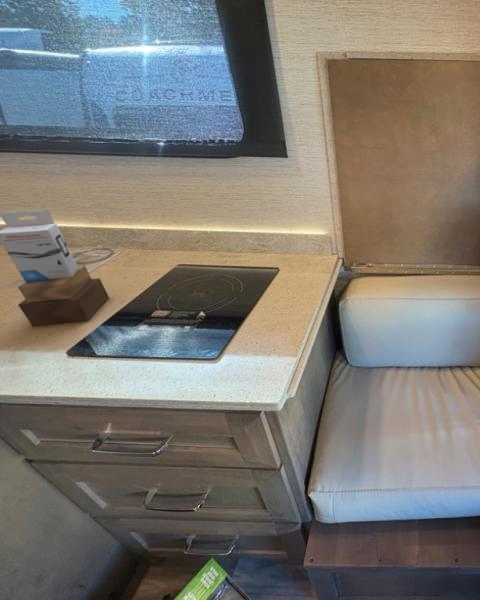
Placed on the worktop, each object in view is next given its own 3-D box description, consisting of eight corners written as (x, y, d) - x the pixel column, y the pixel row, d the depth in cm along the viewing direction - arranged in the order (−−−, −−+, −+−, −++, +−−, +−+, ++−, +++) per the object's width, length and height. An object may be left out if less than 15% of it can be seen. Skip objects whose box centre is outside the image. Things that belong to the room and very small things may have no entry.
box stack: (32, 326, 77) (7, 289, 72) (59, 302, 86) (39, 267, 81) (88, 320, 80) (68, 284, 74) (109, 298, 89) (93, 264, 83)
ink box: (24, 283, 74) (-16, 219, 66) (34, 274, 78) (-3, 212, 70) (73, 277, 77) (40, 215, 70) (80, 268, 81) (49, 209, 74)
